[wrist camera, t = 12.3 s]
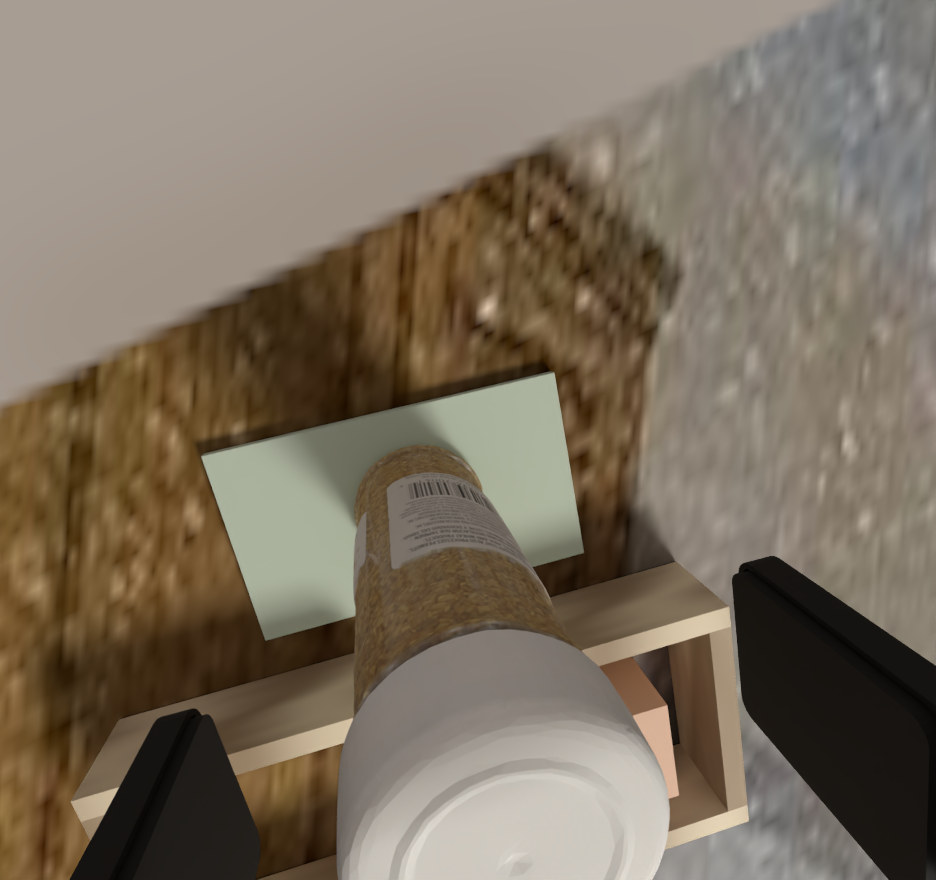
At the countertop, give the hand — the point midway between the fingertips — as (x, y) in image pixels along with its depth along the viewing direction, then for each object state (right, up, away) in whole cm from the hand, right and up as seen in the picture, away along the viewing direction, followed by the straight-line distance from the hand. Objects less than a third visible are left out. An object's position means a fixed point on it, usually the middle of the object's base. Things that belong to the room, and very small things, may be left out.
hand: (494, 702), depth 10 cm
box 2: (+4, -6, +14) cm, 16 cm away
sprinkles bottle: (-2, +2, +10) cm, 11 cm away
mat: (-3, +2, +10) cm, 11 cm away
